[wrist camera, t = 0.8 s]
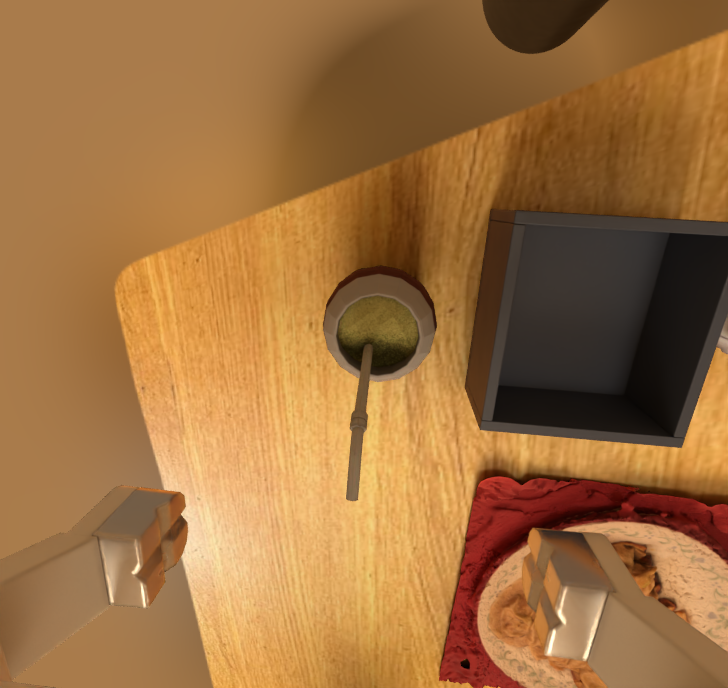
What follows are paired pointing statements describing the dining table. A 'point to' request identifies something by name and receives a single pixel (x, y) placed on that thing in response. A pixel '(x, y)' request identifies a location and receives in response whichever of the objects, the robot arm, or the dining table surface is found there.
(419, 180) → the dining table surface
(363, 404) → the mate gourd
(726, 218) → the dining table surface
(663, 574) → the plate with food
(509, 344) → the dark grey open box
